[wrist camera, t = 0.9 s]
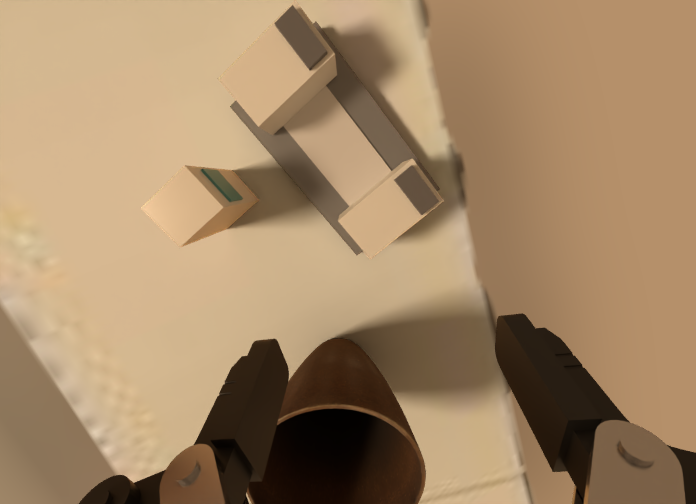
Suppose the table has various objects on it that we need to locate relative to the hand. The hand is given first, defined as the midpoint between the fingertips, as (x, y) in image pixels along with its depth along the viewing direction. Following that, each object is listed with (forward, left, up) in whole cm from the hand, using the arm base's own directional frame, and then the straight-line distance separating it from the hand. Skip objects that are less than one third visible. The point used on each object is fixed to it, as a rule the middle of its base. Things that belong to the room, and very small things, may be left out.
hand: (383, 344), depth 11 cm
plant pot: (+12, -13, -25) cm, 31 cm away
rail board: (-9, +4, -25) cm, 27 cm away
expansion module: (-13, -9, -25) cm, 29 cm away
